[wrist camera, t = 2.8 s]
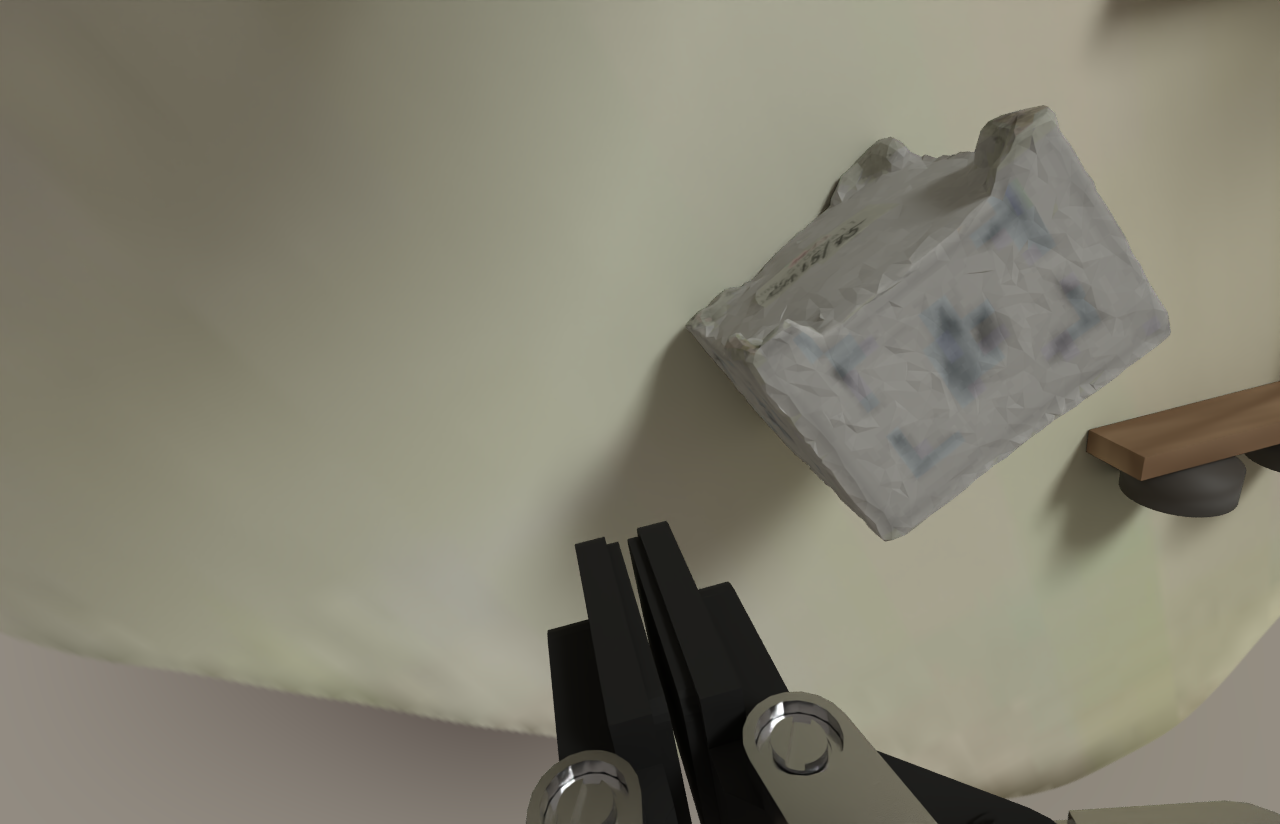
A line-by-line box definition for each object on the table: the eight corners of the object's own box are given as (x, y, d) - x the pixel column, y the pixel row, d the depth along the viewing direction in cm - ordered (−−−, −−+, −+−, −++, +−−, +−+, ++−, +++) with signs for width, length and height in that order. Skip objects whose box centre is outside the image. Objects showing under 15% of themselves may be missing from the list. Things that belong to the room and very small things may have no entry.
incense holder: (862, 110, 24) (1102, 91, 14) (957, 284, 27) (1200, 362, 18) (653, 287, 25) (748, 379, 15) (770, 433, 28) (906, 582, 19)
